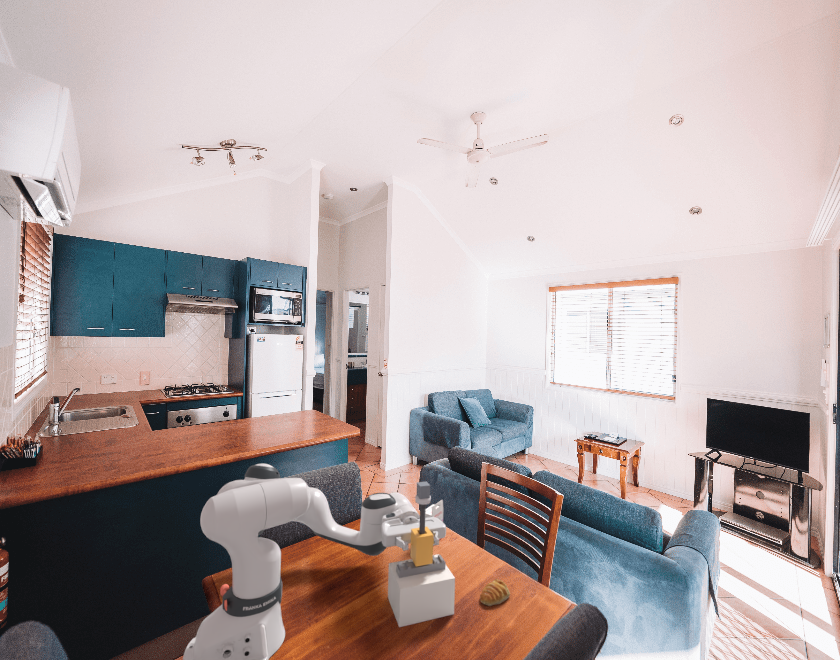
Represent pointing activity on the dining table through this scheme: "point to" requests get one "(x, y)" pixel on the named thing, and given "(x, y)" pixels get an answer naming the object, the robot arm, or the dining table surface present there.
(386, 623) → the dining table surface
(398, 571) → the comb base
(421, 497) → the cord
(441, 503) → the ink cartridge box
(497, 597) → the pastry
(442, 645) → the dining table surface
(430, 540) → the sleeve
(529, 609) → the dining table surface
